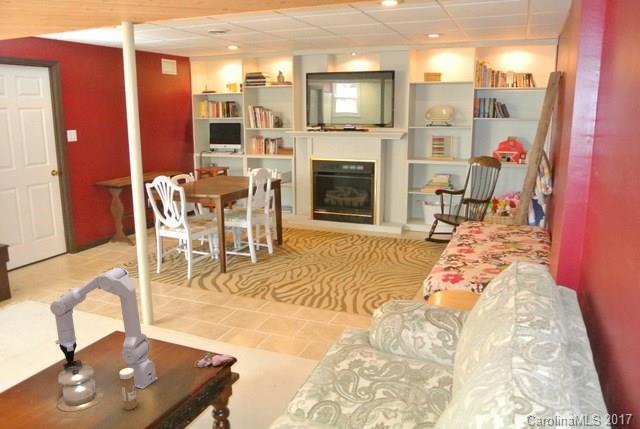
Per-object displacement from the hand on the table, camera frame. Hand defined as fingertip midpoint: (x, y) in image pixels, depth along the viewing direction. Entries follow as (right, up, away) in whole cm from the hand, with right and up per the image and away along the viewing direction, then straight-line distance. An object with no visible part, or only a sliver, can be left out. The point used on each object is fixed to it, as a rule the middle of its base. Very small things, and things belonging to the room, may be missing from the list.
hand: (70, 361), depth 193 cm
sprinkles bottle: (+31, -10, -20) cm, 38 cm away
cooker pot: (+11, -9, -15) cm, 21 cm away
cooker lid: (+7, -2, -10) cm, 12 cm away
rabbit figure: (+54, -4, +6) cm, 54 cm away
